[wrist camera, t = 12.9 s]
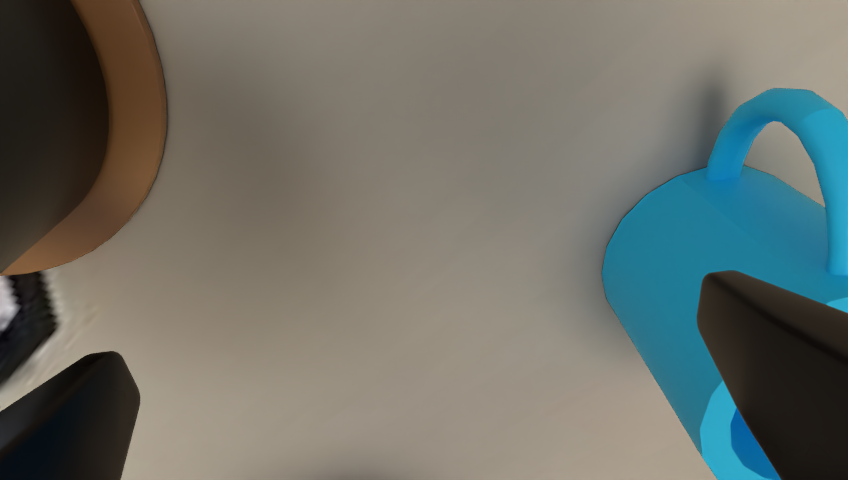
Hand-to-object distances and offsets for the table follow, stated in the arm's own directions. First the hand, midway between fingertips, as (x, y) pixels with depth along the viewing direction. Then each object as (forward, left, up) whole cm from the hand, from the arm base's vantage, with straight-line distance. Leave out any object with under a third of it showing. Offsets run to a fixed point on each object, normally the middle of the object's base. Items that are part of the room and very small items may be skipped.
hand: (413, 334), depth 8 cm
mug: (+4, -12, -12) cm, 18 cm away
